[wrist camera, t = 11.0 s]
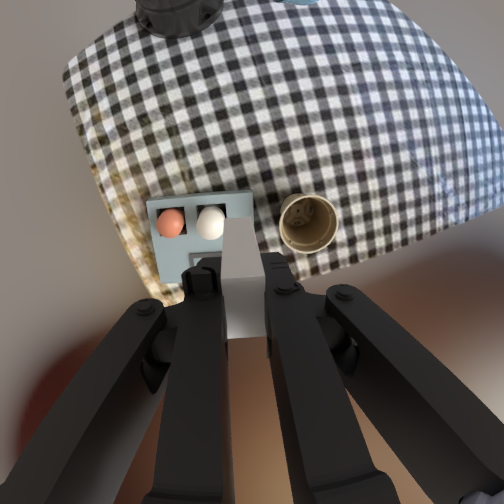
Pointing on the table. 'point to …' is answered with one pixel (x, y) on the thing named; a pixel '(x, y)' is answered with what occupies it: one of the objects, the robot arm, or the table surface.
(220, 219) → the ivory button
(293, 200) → the flower pot
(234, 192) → the panel
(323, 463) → the robot arm
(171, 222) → the salmon orange egg
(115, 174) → the table surface
